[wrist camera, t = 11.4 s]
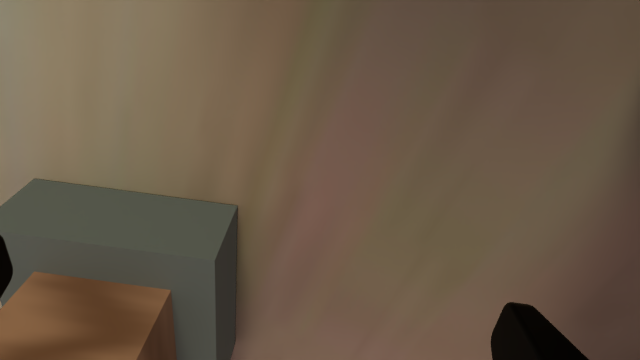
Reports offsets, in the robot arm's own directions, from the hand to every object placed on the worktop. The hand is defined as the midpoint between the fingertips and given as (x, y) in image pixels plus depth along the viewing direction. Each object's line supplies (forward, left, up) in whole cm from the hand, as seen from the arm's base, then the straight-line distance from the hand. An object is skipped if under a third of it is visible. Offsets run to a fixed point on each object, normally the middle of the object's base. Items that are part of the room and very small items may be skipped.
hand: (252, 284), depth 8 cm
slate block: (+8, +12, -12) cm, 19 cm away
